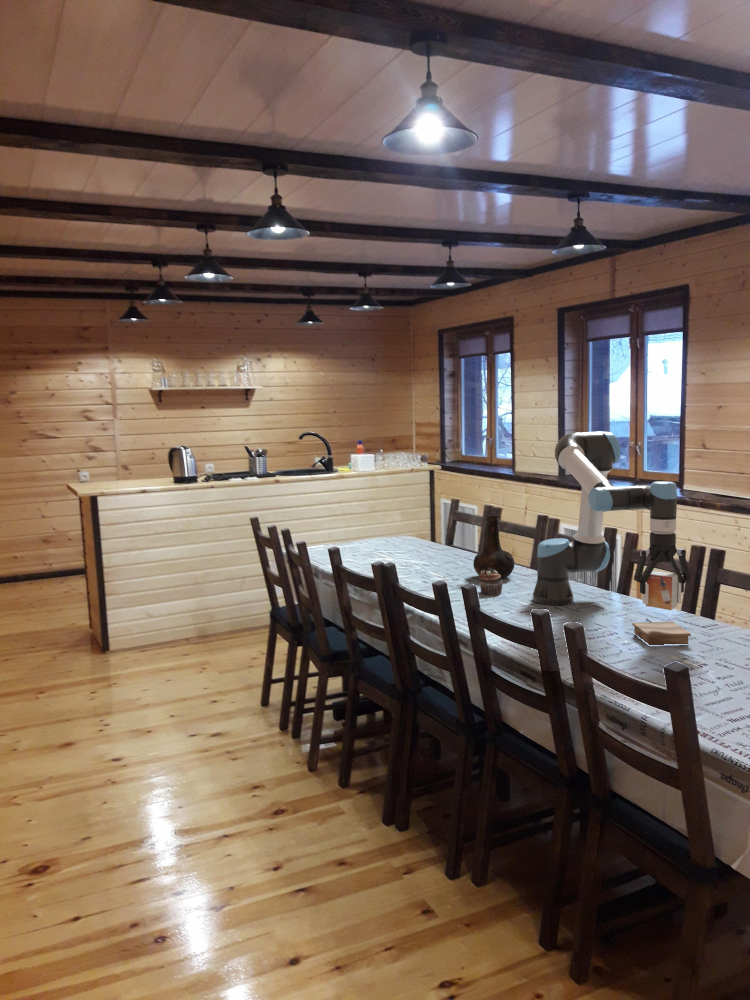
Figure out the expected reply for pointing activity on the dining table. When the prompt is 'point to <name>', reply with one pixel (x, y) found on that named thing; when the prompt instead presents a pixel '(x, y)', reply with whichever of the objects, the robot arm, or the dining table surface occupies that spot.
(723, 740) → the dining table surface
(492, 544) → the glass bottle
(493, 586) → the cupcake
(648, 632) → the stand
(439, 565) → the dining table surface
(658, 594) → the small box
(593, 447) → the robot arm
